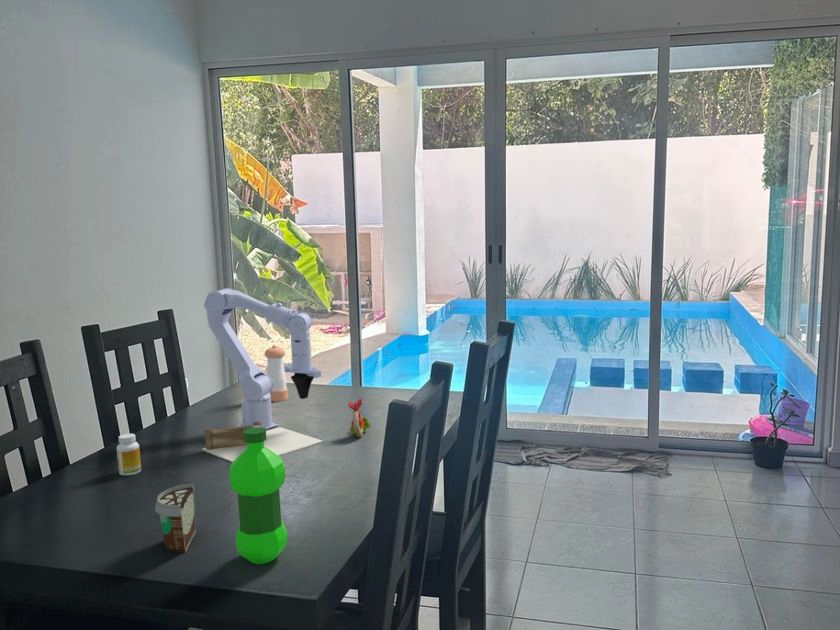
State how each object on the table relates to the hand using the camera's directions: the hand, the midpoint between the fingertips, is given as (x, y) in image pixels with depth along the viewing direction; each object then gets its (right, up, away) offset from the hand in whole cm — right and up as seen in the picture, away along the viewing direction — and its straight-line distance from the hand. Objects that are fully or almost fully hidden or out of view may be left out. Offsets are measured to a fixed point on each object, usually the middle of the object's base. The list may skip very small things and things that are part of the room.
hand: (303, 398), depth 219 cm
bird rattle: (+17, -10, -7) cm, 21 cm away
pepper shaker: (-15, -5, +37) cm, 40 cm away
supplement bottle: (-39, -16, -32) cm, 53 cm away
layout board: (-9, -12, -14) cm, 21 cm away
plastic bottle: (+5, -21, -80) cm, 83 cm away
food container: (-14, -21, -73) cm, 77 cm away
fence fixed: (-17, -12, -15) cm, 25 cm away
